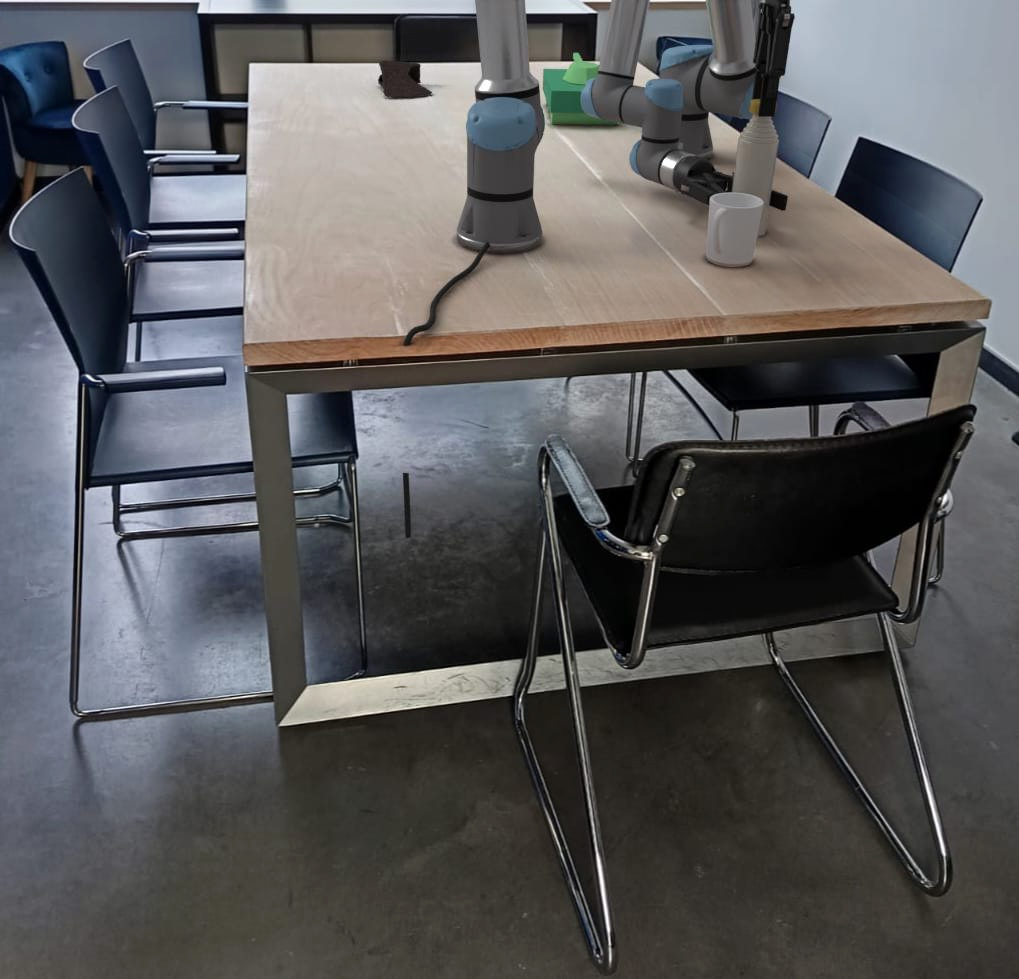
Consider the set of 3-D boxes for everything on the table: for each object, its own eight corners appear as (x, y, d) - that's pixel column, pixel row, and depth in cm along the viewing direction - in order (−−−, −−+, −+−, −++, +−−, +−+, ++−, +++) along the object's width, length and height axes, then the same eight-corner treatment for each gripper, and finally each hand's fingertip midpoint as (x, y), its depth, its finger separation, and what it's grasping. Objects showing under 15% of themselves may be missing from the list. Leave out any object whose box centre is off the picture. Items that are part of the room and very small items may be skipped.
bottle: (766, 227, 205) (784, 101, 194) (764, 238, 200) (783, 110, 188) (728, 223, 207) (744, 98, 195) (725, 235, 201) (741, 107, 189)
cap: (756, 108, 195) (757, 97, 194) (779, 112, 192) (781, 101, 192) (744, 112, 192) (746, 101, 191) (768, 116, 189) (770, 105, 188)
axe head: (443, 87, 294) (392, 77, 287) (436, 115, 299) (385, 106, 292) (421, 62, 307) (371, 52, 300) (414, 89, 311) (365, 80, 304)
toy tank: (607, 49, 292) (625, 75, 262) (604, 97, 299) (621, 128, 269) (541, 48, 291) (552, 74, 261) (539, 96, 298) (549, 127, 268)
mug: (719, 246, 195) (726, 189, 189) (764, 258, 190) (773, 199, 185) (687, 262, 187) (693, 203, 182) (733, 275, 183) (741, 214, 177)
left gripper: (820, -27, 173) (797, 124, 185) (789, -40, 188) (770, 101, 200) (773, -28, 172) (753, 124, 184) (746, -40, 187) (729, 101, 199)
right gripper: (725, 187, 220) (806, 218, 203) (645, 200, 211) (723, 235, 194) (730, 149, 216) (813, 178, 199) (649, 161, 207) (728, 192, 190)
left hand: (762, 112), depth 192 cm, fingers closed on cap, 4 cm apart
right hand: (768, 206), depth 197 cm, fingers closed on bottle, 7 cm apart
